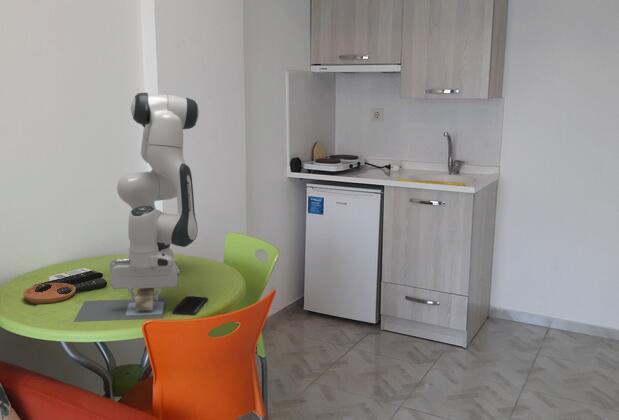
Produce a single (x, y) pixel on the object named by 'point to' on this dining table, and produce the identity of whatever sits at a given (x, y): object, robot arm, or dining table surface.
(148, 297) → the card box
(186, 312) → the phone
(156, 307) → the mat
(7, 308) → the dining table surface
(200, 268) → the dining table surface
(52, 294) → the saucer
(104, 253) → the dining table surface
